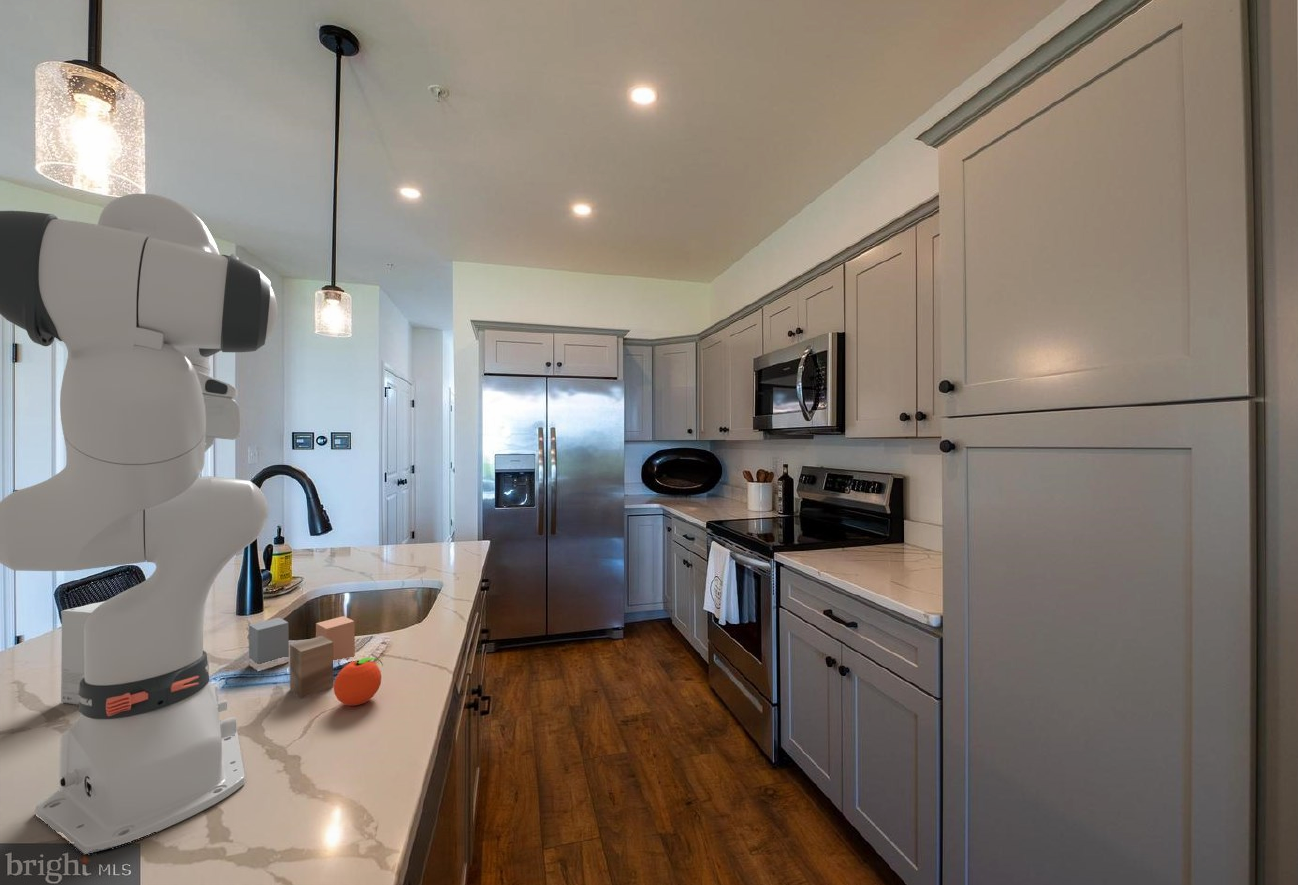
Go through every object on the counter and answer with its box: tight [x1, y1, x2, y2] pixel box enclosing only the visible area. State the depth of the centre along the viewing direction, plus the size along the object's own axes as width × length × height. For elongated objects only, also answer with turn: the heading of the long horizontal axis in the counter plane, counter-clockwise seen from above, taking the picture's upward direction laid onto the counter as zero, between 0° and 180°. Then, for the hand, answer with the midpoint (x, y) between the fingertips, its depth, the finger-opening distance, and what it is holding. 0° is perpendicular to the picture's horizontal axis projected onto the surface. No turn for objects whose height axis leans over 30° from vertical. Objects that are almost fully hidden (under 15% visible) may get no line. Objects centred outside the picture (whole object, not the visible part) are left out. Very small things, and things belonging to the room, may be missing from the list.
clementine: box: [333, 657, 384, 707], centre depth 84 cm, size 8×7×7 cm
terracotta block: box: [315, 615, 356, 660], centre depth 99 cm, size 5×5×8 cm
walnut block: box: [289, 636, 335, 699], centre depth 88 cm, size 5×5×8 cm
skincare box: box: [60, 600, 106, 706], centre depth 87 cm, size 8×7×16 cm
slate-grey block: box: [248, 617, 290, 664], centre depth 98 cm, size 5×5×8 cm
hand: (159, 459), depth 86 cm, fingers open, 8 cm apart
